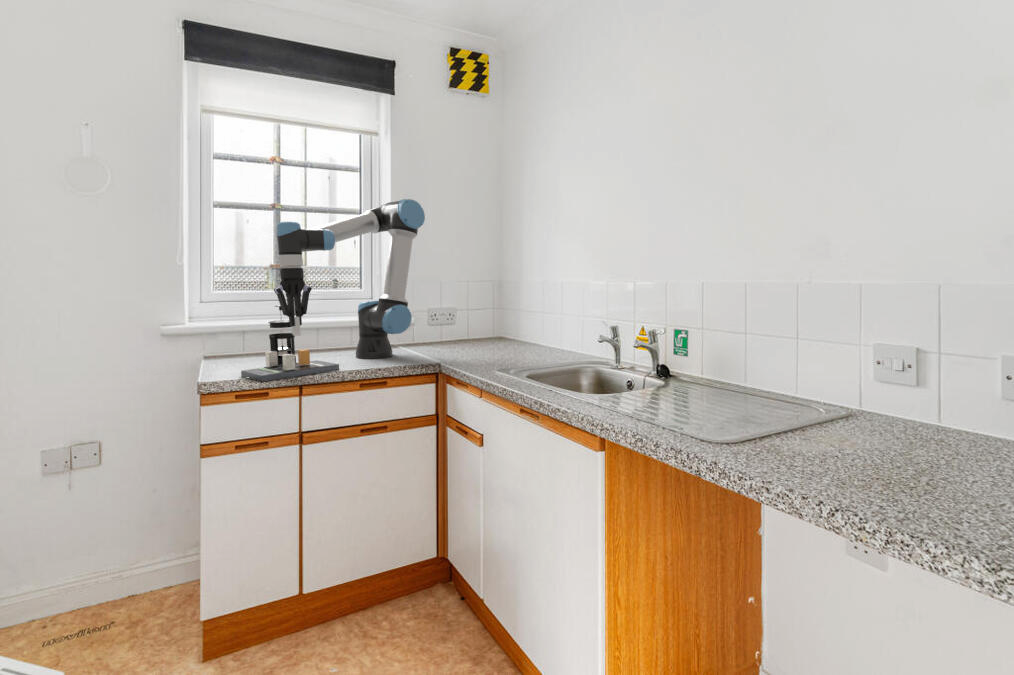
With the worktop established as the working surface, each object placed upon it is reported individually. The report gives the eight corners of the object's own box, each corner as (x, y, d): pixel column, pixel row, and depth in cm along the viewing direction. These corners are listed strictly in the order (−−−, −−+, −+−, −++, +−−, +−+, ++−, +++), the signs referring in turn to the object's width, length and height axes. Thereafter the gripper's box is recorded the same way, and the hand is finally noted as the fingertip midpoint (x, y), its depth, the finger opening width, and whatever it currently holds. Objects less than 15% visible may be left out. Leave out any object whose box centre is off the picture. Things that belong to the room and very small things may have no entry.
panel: (316, 365, 200) (315, 345, 199) (339, 369, 190) (338, 349, 189) (241, 376, 179) (239, 354, 178) (262, 381, 169) (261, 358, 168)
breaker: (306, 363, 190) (305, 349, 189) (310, 363, 188) (309, 350, 188) (298, 364, 187) (297, 350, 187) (302, 365, 186) (301, 351, 185)
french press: (280, 362, 207) (277, 304, 204) (302, 363, 205) (299, 304, 203) (262, 368, 195) (258, 306, 193) (285, 368, 194) (281, 306, 191)
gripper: (303, 267, 189) (308, 332, 192) (267, 267, 179) (273, 336, 182) (314, 267, 184) (319, 333, 187) (278, 267, 174) (284, 338, 177)
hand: (296, 335), depth 185 cm, fingers closed
